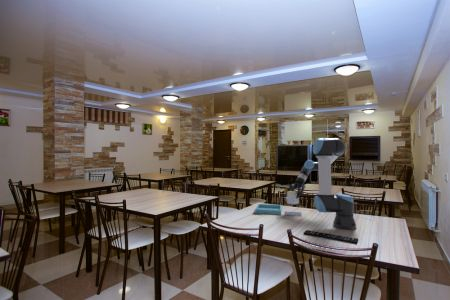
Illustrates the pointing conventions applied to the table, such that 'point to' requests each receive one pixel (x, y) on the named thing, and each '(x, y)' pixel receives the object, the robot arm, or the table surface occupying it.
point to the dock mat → (293, 214)
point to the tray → (268, 209)
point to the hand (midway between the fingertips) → (290, 200)
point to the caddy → (292, 197)
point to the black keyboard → (331, 236)
